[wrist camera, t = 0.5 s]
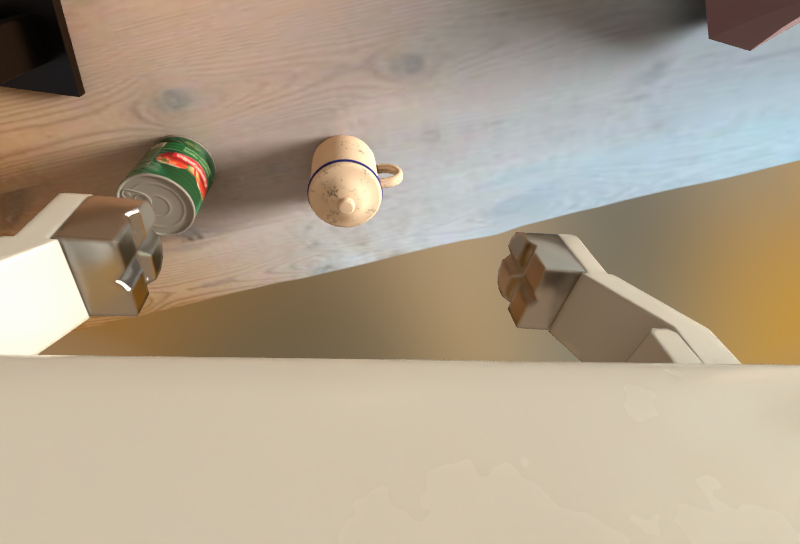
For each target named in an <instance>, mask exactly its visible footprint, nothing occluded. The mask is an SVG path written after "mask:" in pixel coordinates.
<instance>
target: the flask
mask: <svg viewBox="0 0 800 544" xmlns="http://www.w3.org/2000/svg"><path fill="white" fill-rule="evenodd" d="M706 11H707V23H708V35H709V39H711V40H715V41H718V42H722V43H725V44H728V45H732V46H735V47H739V48H742V49H745V50H749V51H751V50H752V49H754V48H756V47H758V46H759V45H761V44H763V43H765V42H766V41H768V40H770V39H772V38H773V37H775V36H777V35H778V34H780V33H782V32H784V31H785V30H787V29H789V28H791V27H792V26H794V25H796V24H798V23H799V22H800V0H706Z"/></svg>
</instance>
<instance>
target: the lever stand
mask: <svg viewBox="0 0 800 544" xmlns="http://www.w3.org/2000/svg"><path fill="white" fill-rule="evenodd" d="M0 86H2V87H10V88H17V89H24V90H32V91H39V92H46V93H54V94H61V95H68V96H76V97H80V96H82V95H83V94H85V91H84V87H83V84H82V80H81V76H80V73H79V69H78V65H77V62H76V58H75V54H74V51H73V47H72V43H71V39H70V36H69V32H68V28H67V25H66V21H65V17H64V14H63V10H62V6H61V3H60V0H0Z"/></svg>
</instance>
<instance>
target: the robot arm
mask: <svg viewBox="0 0 800 544" xmlns="http://www.w3.org/2000/svg"><path fill="white" fill-rule="evenodd" d="M155 221H156V215H155V211H154V208H153V205H152V204H151V203H150V202H149V201H148V200H138V199H128V198H119V197H109V196H99V195H91V194H78V193H59V194H58V195H57V196H56V197H55V198H54V199H53V200H52V201H51V202H50V203H49V204H48V205H47V206H46V207H44V208H43V209H42V210H41V211H40V212H39V213H38V214H37V215H36V216H35V217H34V218H33V219H32V220H31V221H30V222H29V223H28V224H27V225H25V226H24V227H23V228H22V229H21V230H20V231H19V232H18V233H17V234H16V235H15V236H14V237H13V236H2V237H0V544H800V365H782V364H741V363H740V362H739V361H738V360H737V359H736V358H735V357H734V356H733V355H732V353H731V352H730V351H729V350H728V349H727V348H726V347H725V346H724V345H723V344H722V343H721V342H720V341H719V340H718V338H717V337H716V336H715V335H714V334H713V333H712V332H711V331H710V330H709V329H707V328H706V327H704V326H702V325H700V324H699V323H697V322H695V321H693V320H692V319H690V318H688V317H686V316H685V315H683V314H681V313H679V312H678V311H676V310H674V309H672V308H671V307H669V306H667V305H665V304H664V303H662V302H660V301H658V300H657V299H655V298H653V297H651V296H650V295H648V294H646V293H644V292H643V291H641V290H639V289H637V288H635V287H634V286H632V285H630V284H628V283H627V282H625V281H623V280H621V279H620V278H618V277H616V276H614V275H610V274H607V273H606V272H605V271H604V269H603V268H602V267H601V266H600V264H599V263H598V262H597V261H596V259H595V258H594V257H593V256H592V255H591V253H590V252H589V251H588V250H587V248H586V247H585V246H584V245H583V243H582V242H581V241H580V240H579V238H577V237H576V236H573V235H562V234H541V233H524V232H516V233H515V234H514V236H513V237H512V238H511V241H510V243H509V245H508V247H509V249H510V252H511V254H510V255H509V256H507V257H506V258H505V259H503V260H502V263H501V266H500V268H499V271H498V287H499V290H500V293H501V295H502V296H503V297H504V298H505V299H507V300H508V301H509V302H510V305H509V307H508V310H509V312H510V314H511V316H512V318H513V321H514V323H515V325H516V327H517V328H525V329H526V328H527V329H543V330H544V329H545V330H549V332H550V333H551V334H552V335H553V336H554V337H555V338H556V339H557V340H558V341H559V342H561V343H562V344H563V345H564V346H565V347H566V348H567V349H568V350H569V351H570V352H572V353H573V354H574V355H575V356H576V357H577V358H578V359H579V360H580V361H581V362H540V361H466V360H383V359H302V358H298V359H297V358H225V357H149V356H148V357H147V356H71V355H67V356H66V355H37V354H39V353H40V352H41V351H43V350H44V349H46V348H47V347H49V346H50V345H51V344H53V343H54V342H56V341H57V340H59V339H60V338H62V337H63V336H64V335H66V334H67V333H69V332H70V331H72V330H73V329H74V328H76V327H77V326H79V325H80V324H82V323H83V322H84V321H86V320H87V319H89V316H138V314H139V312H140V310H141V308H142V307H143V305H144V303H145V301H146V299H147V297H148V295H149V291H148V287H147V284H149V283H151V282H153V281H154V280H156V279H157V277H158V275H159V273H160V270H161V265H162V260H163V248H162V242H161V237H160V236H159V235H158V234H157V233H155V232H154V231H153V230H152V229H151V228H152V226H153V225H154V223H155Z"/></svg>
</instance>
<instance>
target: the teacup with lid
mask: <svg viewBox="0 0 800 544" xmlns="http://www.w3.org/2000/svg"><path fill="white" fill-rule="evenodd" d="M378 173H391V174H394V176H392V177H388V178H381V179H379V178H378ZM402 179H403V174H402V171H401V169H400V168H399V167H397V166H395V165H392V164H376V163H375V158H374V155H373V153H372V151H371V150H370V148H369V147H368V146H367V145H366V144H365V143H364V142H363V141H361V140H359V139H358V138H355V137H352V136H347V135H338V136H334V137H331V138H328V139H327V140H325V141H323V142H322V143H321V144H320V145H319V146H318V148H317V149H316V151H315V153H314V155H313V159H312V168H311V179H310V181H309V184H308V190H307V195H308V200H309V203H310V206H311V208H312V209H313V211H314V212H315V213H316V215H317V216H318V217H319V218H321V219H322V220H323V221H325V222H327V223H329V224H331V225H334V226H338V227H353V226H357V225H360V224H363V223H365V222H366V221H368V220H369V219H370V218H372V217H373V216H374V215H375V213H376V212H377V210H378V209H379V207H380V205H381V202H382V196H383V190H382V188H387V187H392V186H395V185H397V184H399V183H400V182H401V181H402Z"/></svg>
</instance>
